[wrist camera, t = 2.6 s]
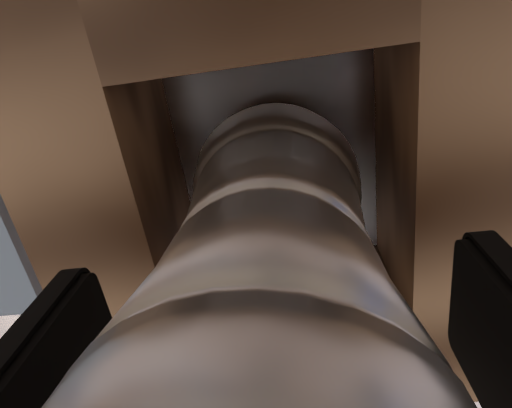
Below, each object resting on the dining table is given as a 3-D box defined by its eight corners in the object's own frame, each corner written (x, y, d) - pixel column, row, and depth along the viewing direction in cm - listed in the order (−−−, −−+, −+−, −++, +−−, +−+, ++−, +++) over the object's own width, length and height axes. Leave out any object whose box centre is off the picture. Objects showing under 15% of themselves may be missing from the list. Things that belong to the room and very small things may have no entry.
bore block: (25, -25, 16) (-105, -46, 11) (502, -109, 14) (642, -188, 9) (141, 326, 23) (99, 419, 18) (464, 302, 21) (526, 399, 16)
